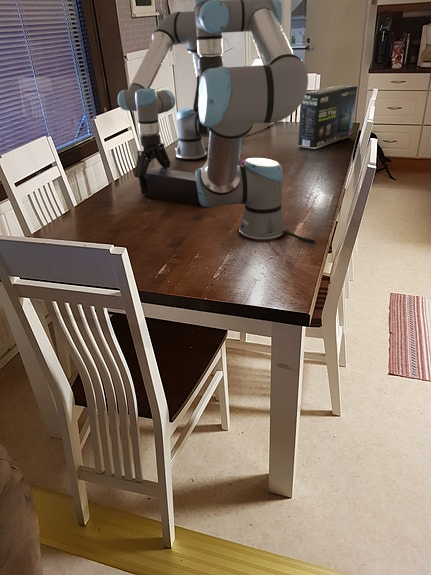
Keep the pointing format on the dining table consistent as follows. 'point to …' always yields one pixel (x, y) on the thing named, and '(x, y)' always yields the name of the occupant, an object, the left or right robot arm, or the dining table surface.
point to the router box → (326, 115)
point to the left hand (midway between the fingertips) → (155, 188)
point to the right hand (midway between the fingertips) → (213, 129)
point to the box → (172, 186)
